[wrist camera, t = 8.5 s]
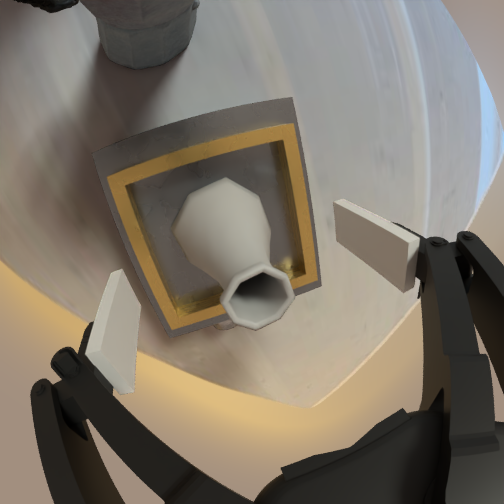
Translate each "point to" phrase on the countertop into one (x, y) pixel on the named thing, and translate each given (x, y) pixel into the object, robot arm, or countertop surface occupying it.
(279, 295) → the flask
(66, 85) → the countertop surface
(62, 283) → the countertop surface
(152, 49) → the moka pot
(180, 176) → the plate
